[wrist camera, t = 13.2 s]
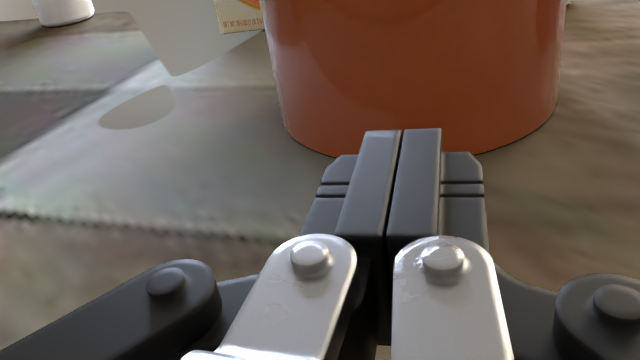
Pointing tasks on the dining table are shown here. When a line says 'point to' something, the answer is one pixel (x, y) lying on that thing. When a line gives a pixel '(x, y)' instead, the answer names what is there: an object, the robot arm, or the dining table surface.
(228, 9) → the coffeecake box
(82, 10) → the can
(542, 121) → the pot
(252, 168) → the dining table surface
